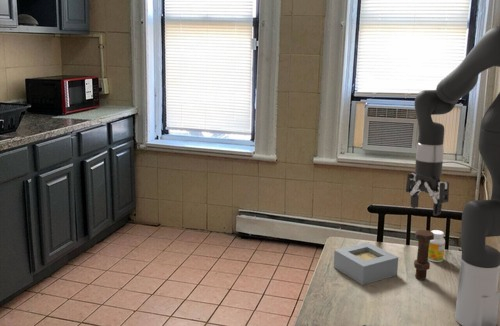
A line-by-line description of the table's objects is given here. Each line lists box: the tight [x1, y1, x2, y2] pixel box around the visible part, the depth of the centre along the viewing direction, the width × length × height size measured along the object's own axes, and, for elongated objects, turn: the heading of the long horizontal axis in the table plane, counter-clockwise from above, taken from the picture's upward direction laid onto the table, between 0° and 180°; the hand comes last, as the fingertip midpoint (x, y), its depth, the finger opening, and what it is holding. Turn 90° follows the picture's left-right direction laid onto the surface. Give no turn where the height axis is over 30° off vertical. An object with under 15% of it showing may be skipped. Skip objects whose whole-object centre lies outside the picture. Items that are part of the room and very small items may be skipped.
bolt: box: [413, 229, 434, 280], centre depth 161 cm, size 6×5×15 cm
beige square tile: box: [354, 251, 378, 261], centre depth 167 cm, size 7×7×2 cm
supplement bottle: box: [428, 229, 446, 263], centre depth 176 cm, size 5×5×10 cm
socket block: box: [333, 241, 399, 286], centre depth 167 cm, size 14×14×6 cm
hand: (425, 211), depth 158 cm, fingers open, 8 cm apart
